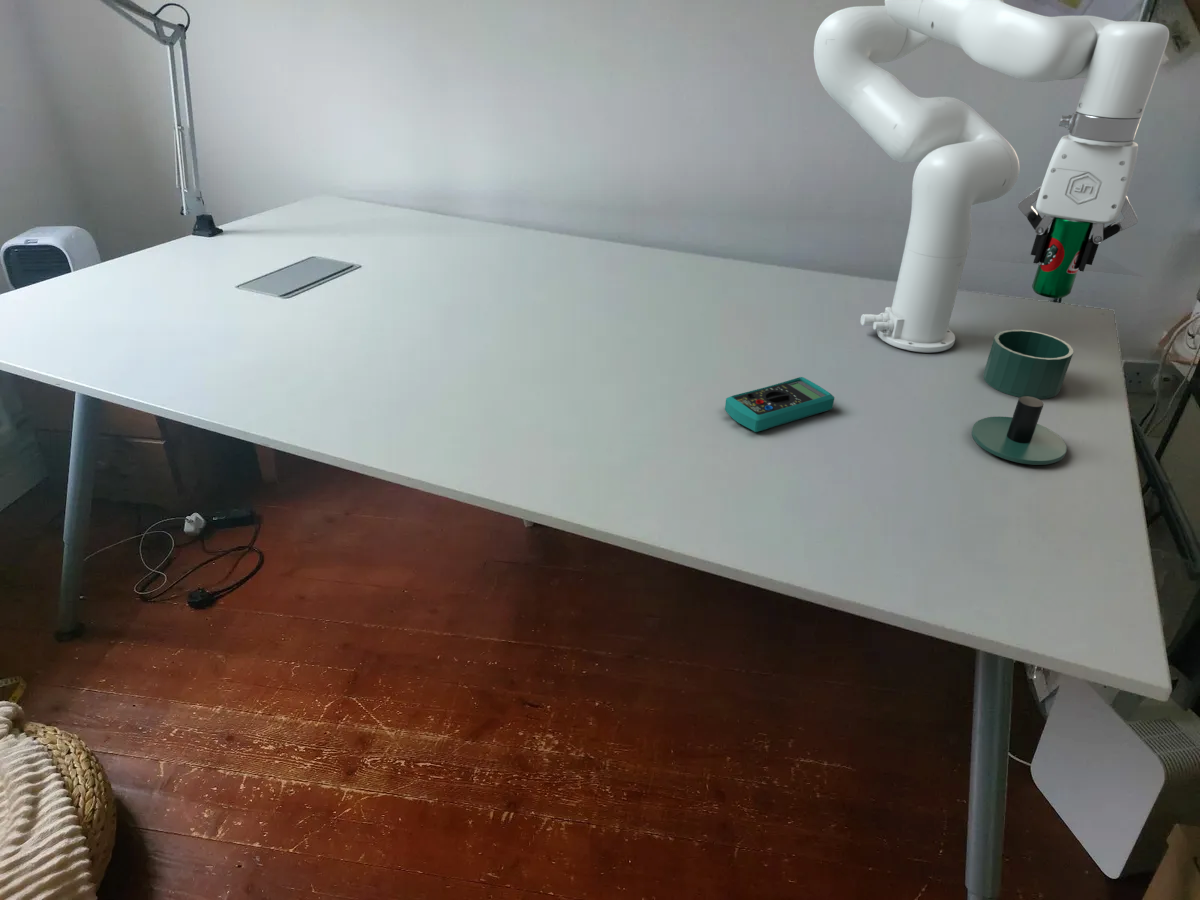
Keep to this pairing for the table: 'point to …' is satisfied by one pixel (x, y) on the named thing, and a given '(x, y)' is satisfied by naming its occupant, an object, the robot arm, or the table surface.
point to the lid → (1020, 435)
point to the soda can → (1061, 257)
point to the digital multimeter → (778, 404)
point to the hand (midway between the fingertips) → (1059, 263)
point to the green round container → (1027, 363)
